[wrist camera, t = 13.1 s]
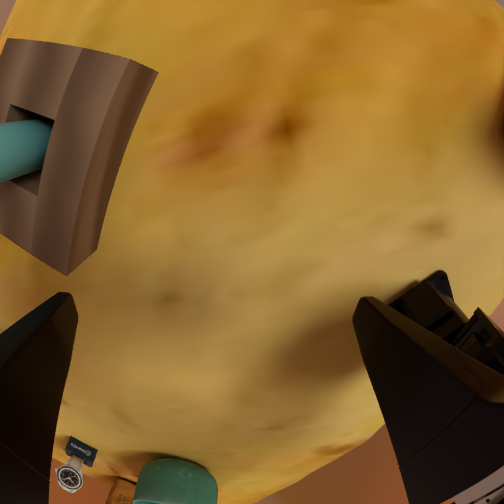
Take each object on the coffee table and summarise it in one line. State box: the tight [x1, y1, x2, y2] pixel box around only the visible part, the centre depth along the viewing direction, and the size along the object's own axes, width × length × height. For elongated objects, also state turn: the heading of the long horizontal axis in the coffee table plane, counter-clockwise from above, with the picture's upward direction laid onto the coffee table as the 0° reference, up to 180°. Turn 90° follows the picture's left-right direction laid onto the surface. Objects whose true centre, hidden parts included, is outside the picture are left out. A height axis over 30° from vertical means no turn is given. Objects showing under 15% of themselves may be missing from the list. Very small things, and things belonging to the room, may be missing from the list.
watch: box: [55, 436, 97, 493], centre depth 32 cm, size 6×8×11 cm
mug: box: [133, 458, 218, 504], centre depth 32 cm, size 17×13×10 cm
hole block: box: [0, 38, 158, 276], centre depth 15 cm, size 12×14×4 cm
